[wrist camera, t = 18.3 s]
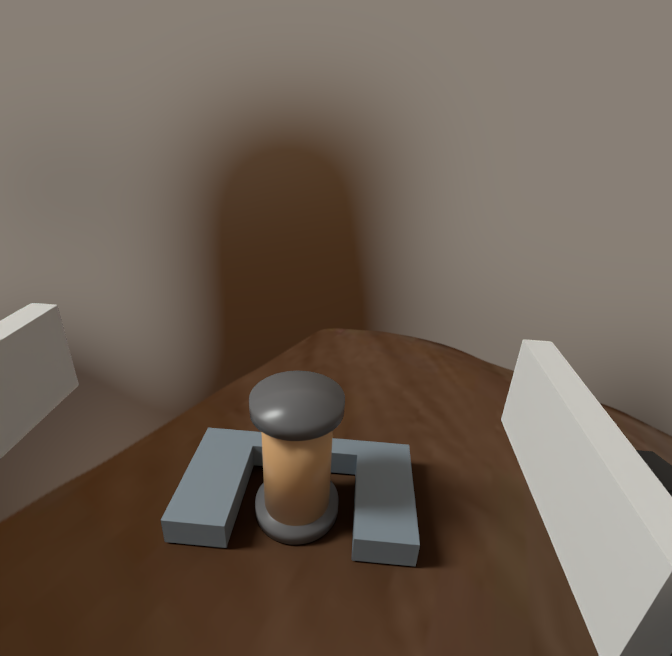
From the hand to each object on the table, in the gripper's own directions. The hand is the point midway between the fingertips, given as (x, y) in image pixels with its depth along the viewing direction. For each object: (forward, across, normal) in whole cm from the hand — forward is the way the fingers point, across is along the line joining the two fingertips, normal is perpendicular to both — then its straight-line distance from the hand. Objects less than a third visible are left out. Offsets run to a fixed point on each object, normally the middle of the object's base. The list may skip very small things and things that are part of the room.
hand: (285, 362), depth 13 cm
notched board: (+17, -2, -25) cm, 30 cm away
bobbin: (+16, -2, -25) cm, 30 cm away
